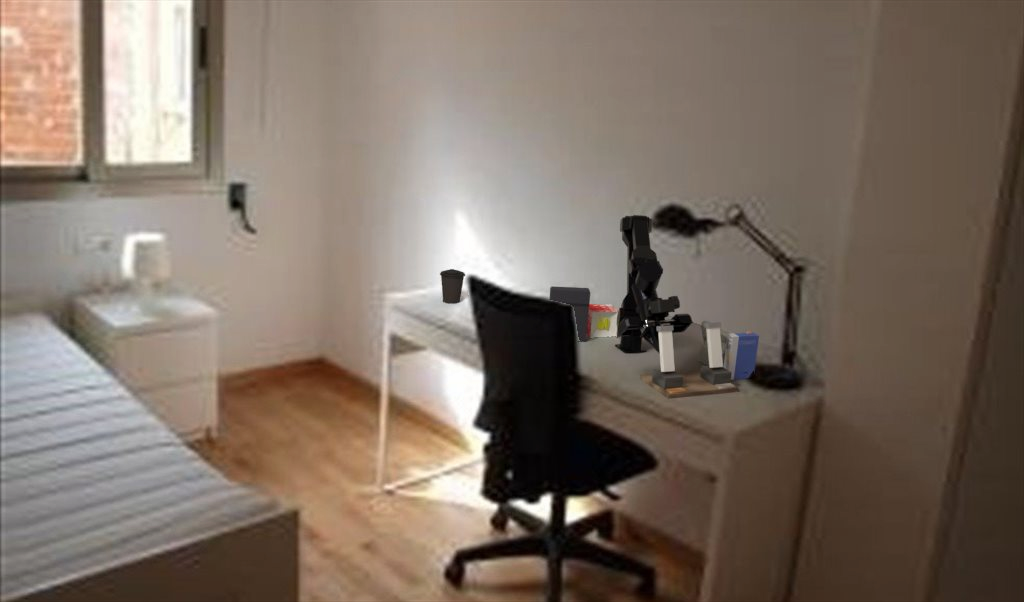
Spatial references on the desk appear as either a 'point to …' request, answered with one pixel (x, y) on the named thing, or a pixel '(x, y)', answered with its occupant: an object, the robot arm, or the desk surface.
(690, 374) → the switch board
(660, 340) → the lever
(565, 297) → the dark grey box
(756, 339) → the walkman
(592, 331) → the red and white cube
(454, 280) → the coffee cup
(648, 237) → the robot arm
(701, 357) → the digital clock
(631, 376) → the desk surface
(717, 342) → the lever
